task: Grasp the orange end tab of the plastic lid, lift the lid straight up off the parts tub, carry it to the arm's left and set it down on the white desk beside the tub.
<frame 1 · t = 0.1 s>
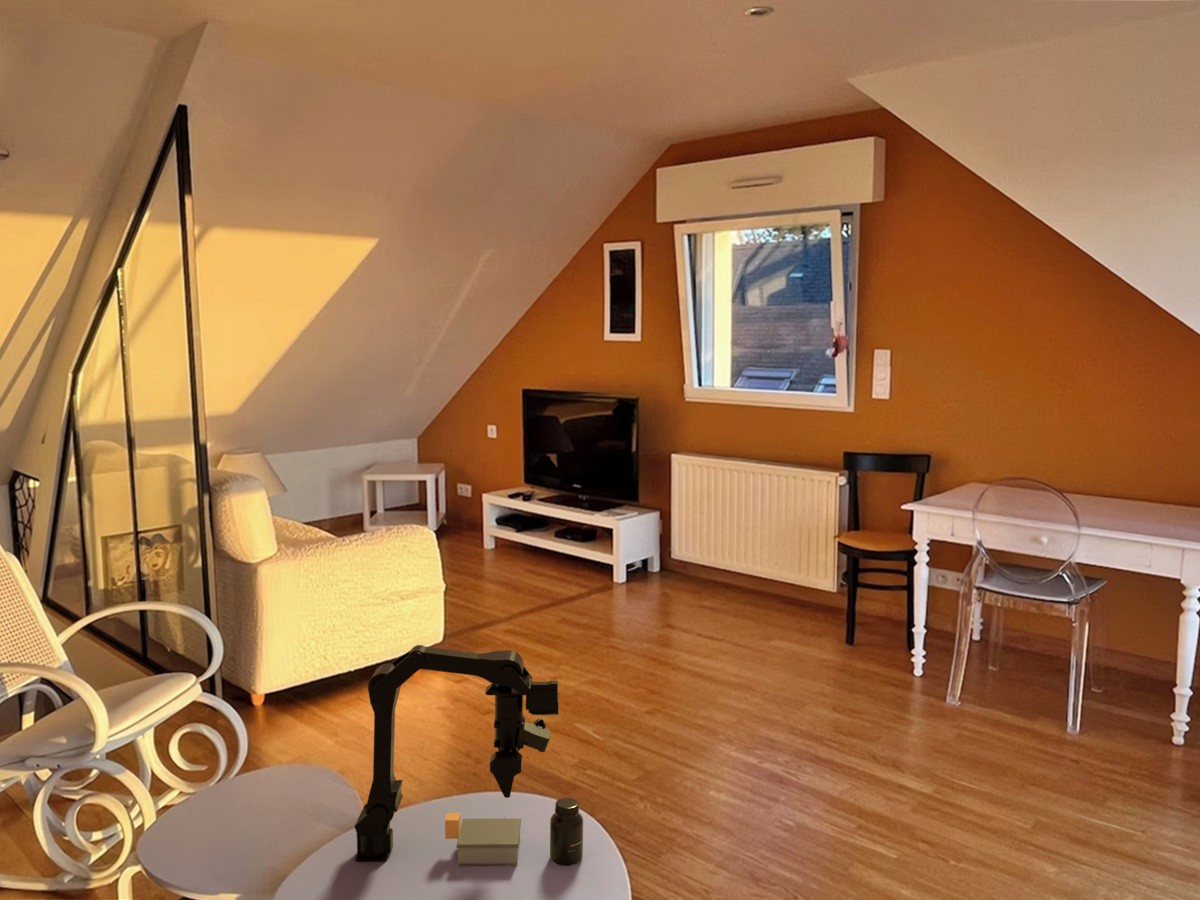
hand: (508, 786, 195), 15 cm above the table, fingers open, 9 cm apart
lid: (489, 834, 196), point 4 cm above the table, touching tub
supplement bottle: (566, 858, 195), on the table
tub: (489, 852, 197), on the table
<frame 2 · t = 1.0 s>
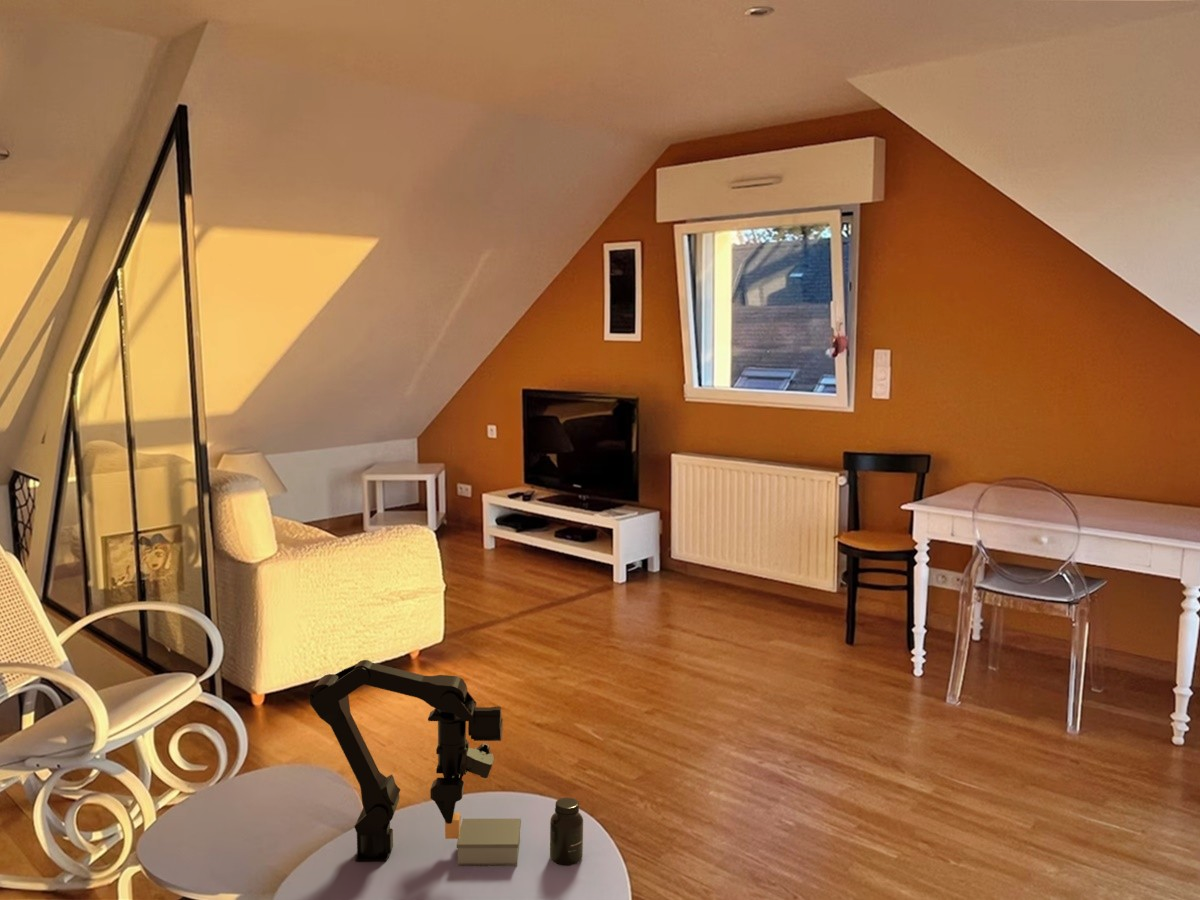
hand: (452, 811, 196), 9 cm above the table, fingers open, 9 cm apart
nothing on the table moved.
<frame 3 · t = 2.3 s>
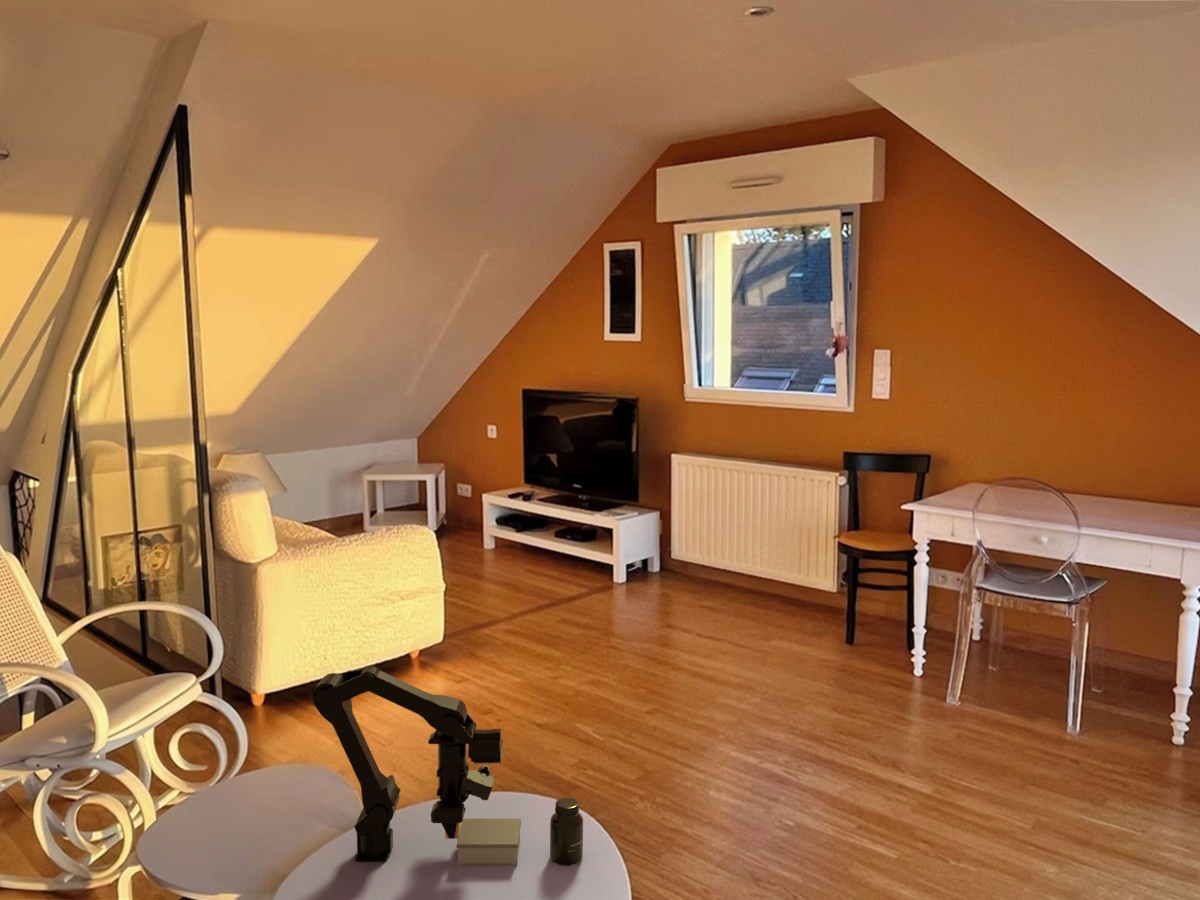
hand: (452, 833, 196), 4 cm above the table, fingers closed on lid, 3 cm apart
lid: (489, 834, 196), point 4 cm above the table, touching gripper, tub
everything else where it was.
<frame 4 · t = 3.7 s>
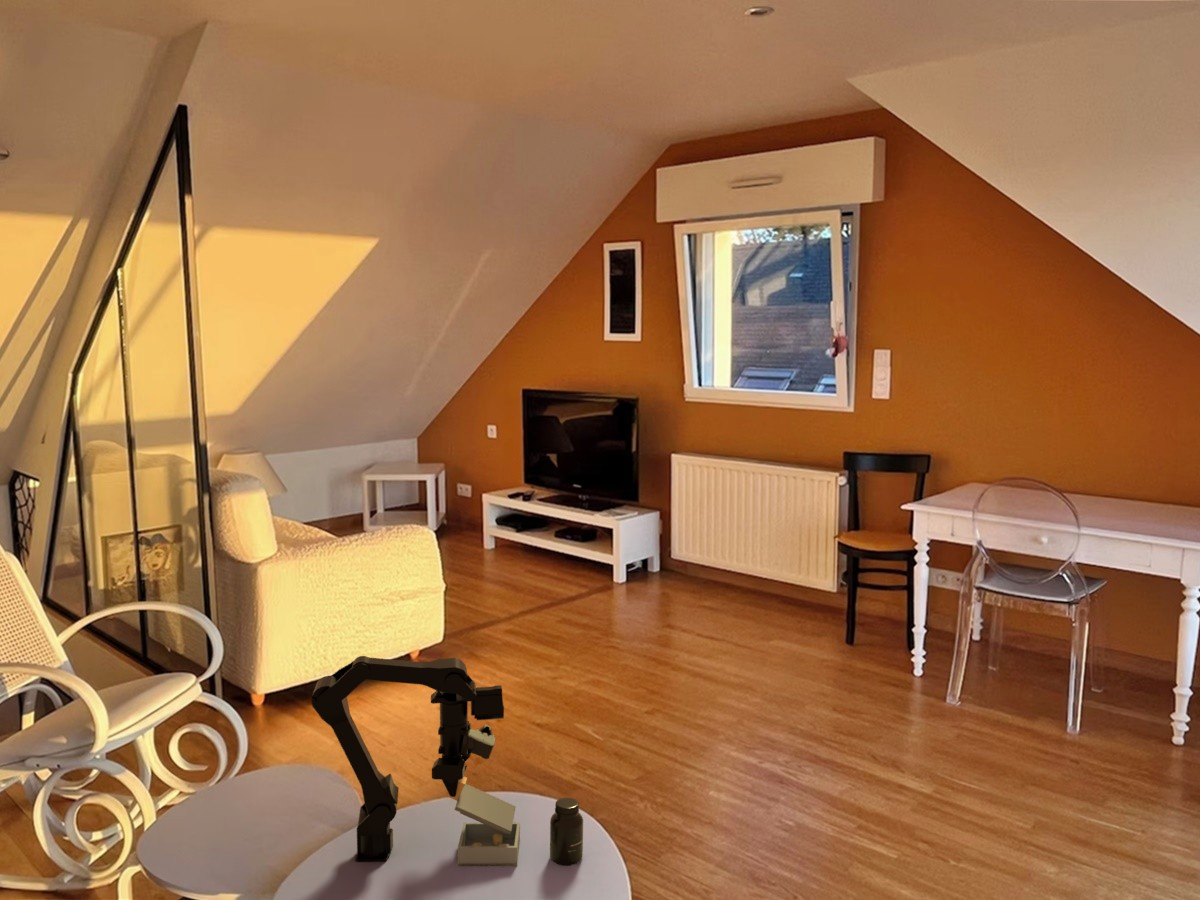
hand: (454, 792, 198), 12 cm above the table, fingers closed on lid, 3 cm apart
lid: (485, 809, 198), point 8 cm above the table, tilted 25°, touching gripper
everything else where it was.
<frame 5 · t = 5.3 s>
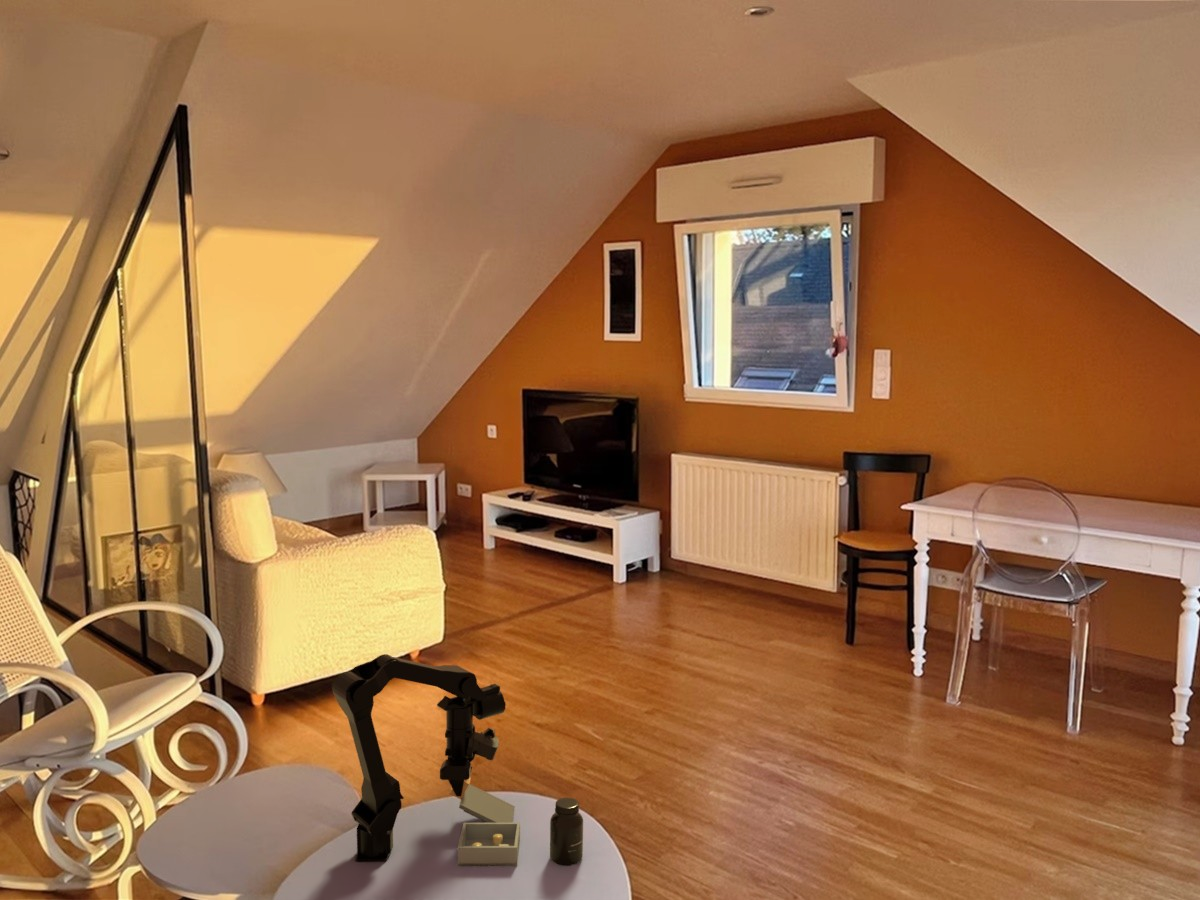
hand: (459, 792, 209), 7 cm above the table, fingers closed on lid, 3 cm apart
lid: (486, 808, 209), point 3 cm above the table, tilted 28°, touching gripper
everything else where it was.
when the fingers open (3 cm above the table, at t = 6.7 s): lid stays where it is, point 1 cm above the table.
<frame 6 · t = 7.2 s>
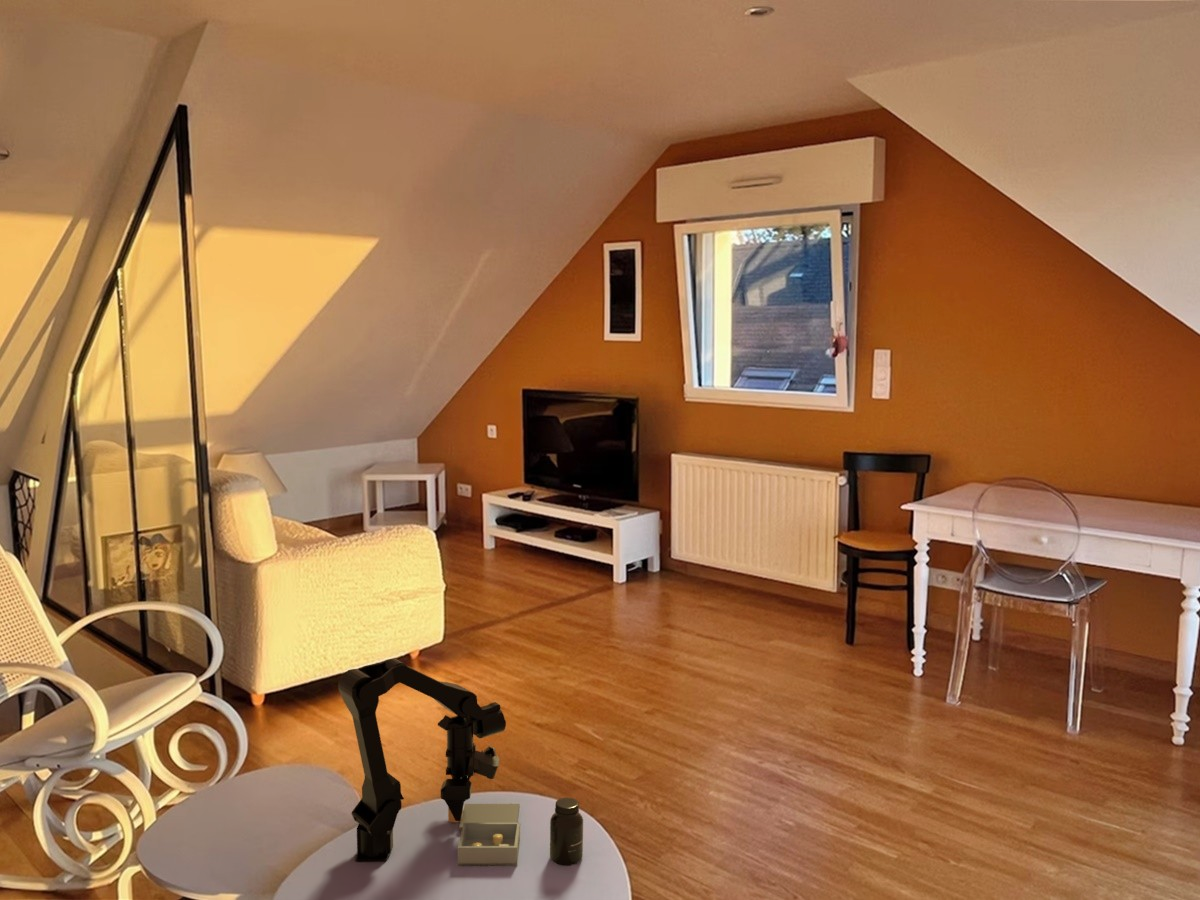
hand: (460, 810, 209), 3 cm above the table, fingers open, 8 cm apart
lid: (490, 818, 210), point 1 cm above the table
everything else where it was.
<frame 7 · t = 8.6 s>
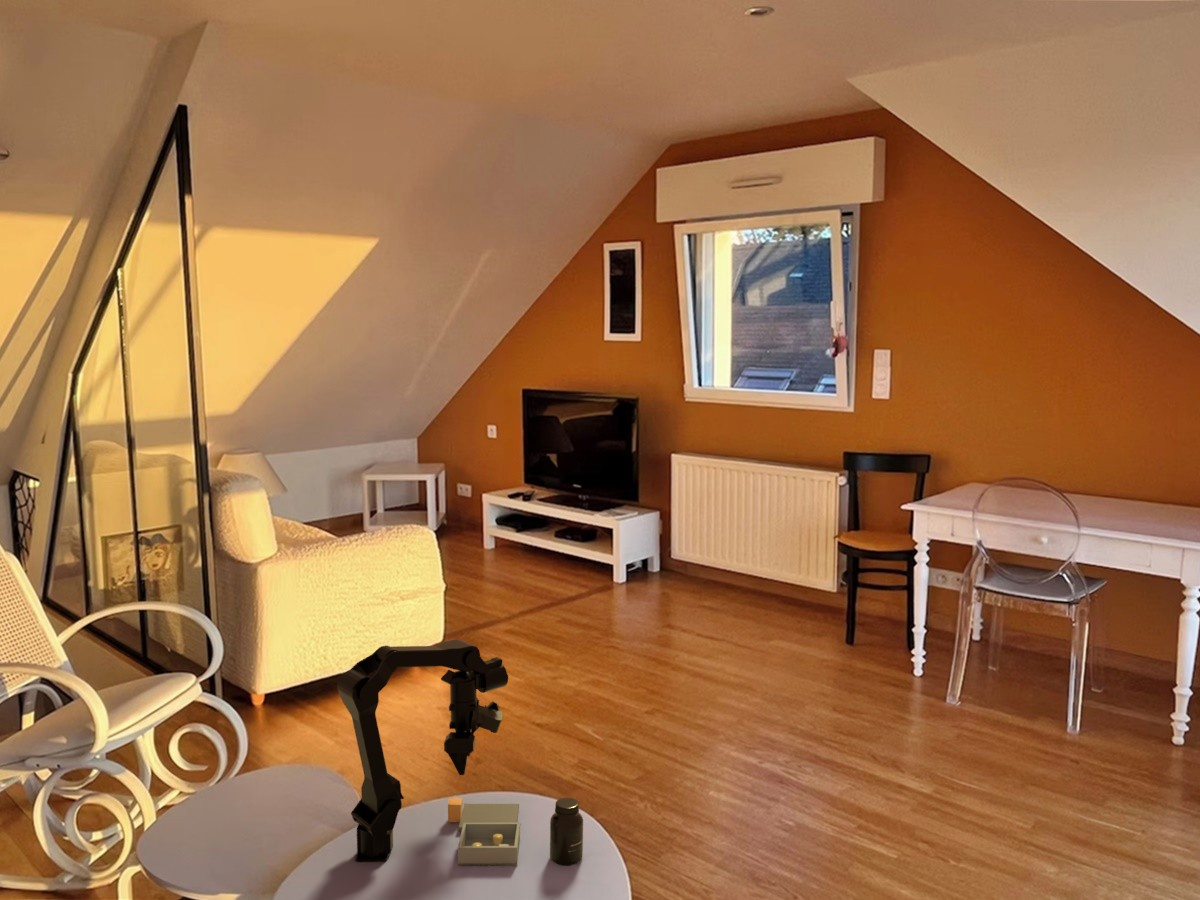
hand: (464, 765, 210), 12 cm above the table, fingers open, 9 cm apart
nothing on the table moved.
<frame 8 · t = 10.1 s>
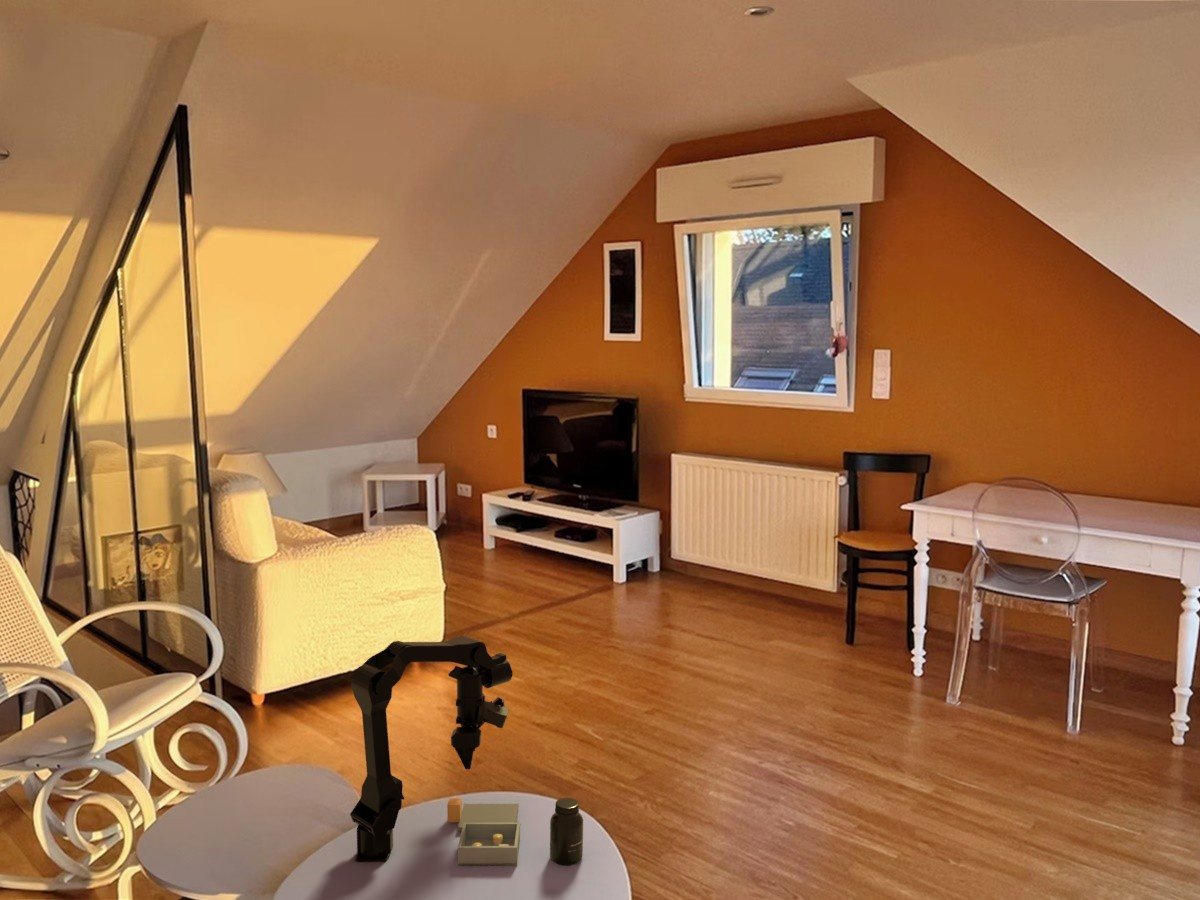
hand: (470, 759, 213), 12 cm above the table, fingers open, 9 cm apart
nothing on the table moved.
at the end: lid inside the target area (1.4 cm from its centre), point 0.7 cm above the table; lid touching table; the gripper is holding nothing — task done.
